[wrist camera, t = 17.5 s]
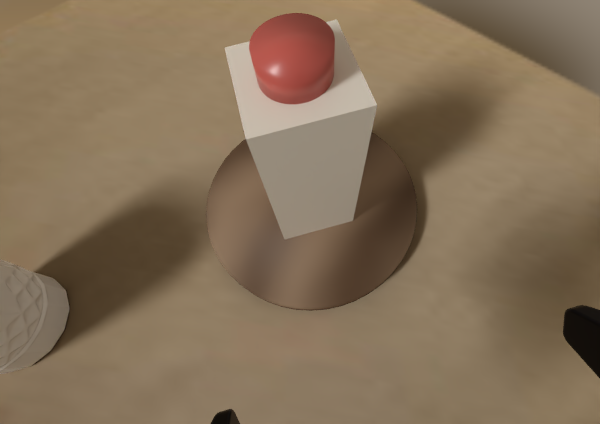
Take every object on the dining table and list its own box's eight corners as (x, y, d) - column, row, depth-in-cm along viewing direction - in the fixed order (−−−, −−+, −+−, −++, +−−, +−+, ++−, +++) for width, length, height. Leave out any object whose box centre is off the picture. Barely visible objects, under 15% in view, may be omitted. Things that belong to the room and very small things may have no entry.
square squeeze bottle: (332, 163, 25) (338, -16, 13) (352, 220, 23) (383, 73, 11) (269, 179, 25) (213, 15, 13) (284, 239, 23) (235, 112, 11)
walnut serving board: (443, 169, 25) (449, 161, 24) (356, 356, 21) (358, 357, 19) (277, 101, 30) (275, 92, 29) (171, 244, 25) (164, 239, 24)
